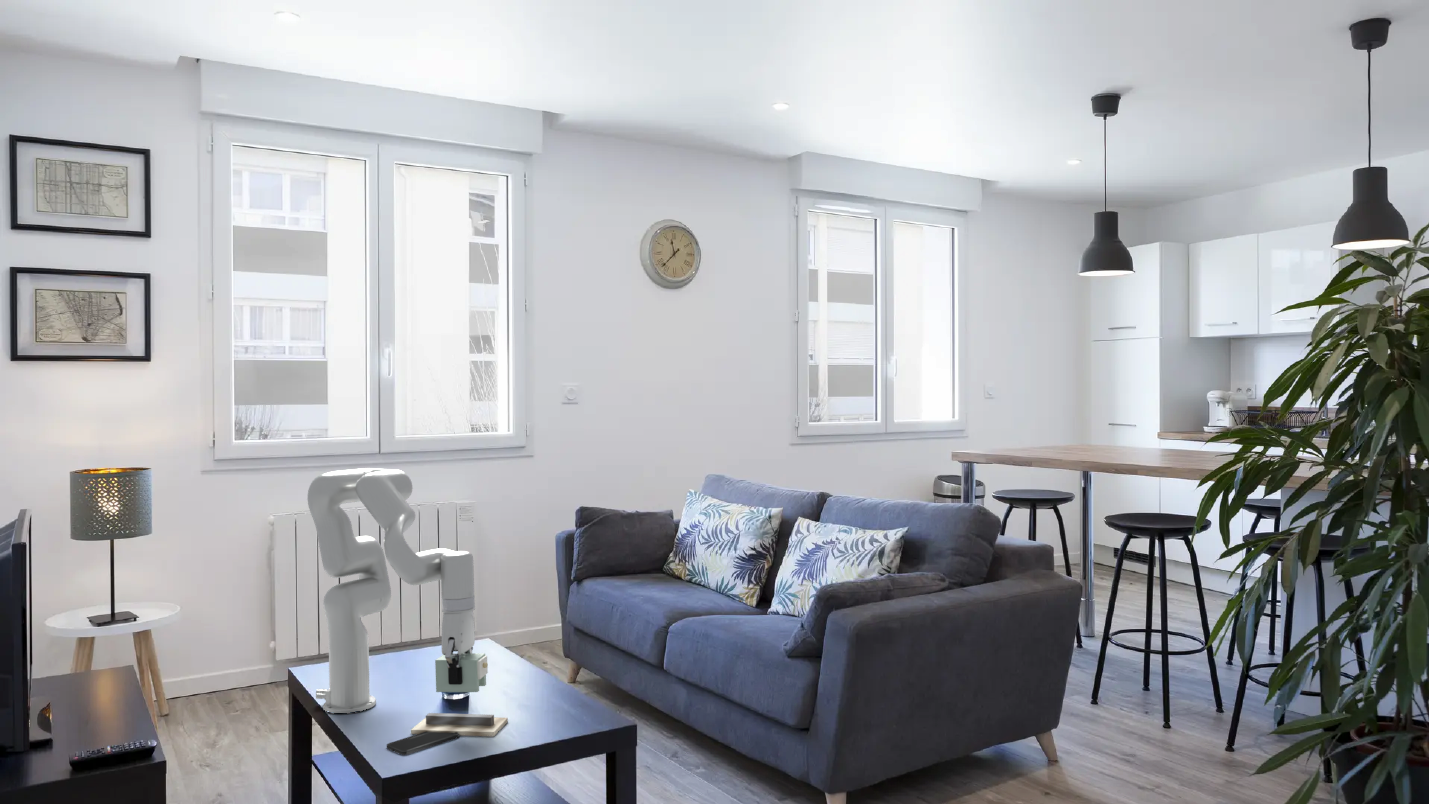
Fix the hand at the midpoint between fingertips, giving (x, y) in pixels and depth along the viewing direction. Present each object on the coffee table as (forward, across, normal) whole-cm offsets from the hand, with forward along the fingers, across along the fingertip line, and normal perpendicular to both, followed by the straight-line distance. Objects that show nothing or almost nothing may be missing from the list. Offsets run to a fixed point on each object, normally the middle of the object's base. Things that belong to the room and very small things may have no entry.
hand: (460, 679), depth 236 cm
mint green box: (+2, 0, 0) cm, 2 cm away
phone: (+12, +10, -6) cm, 17 cm away
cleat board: (+12, 0, -1) cm, 12 cm away
